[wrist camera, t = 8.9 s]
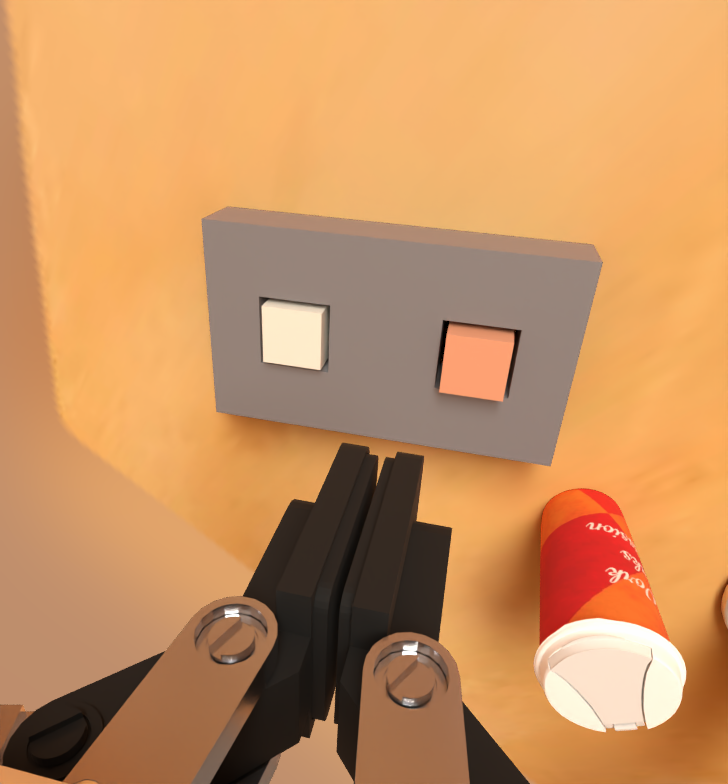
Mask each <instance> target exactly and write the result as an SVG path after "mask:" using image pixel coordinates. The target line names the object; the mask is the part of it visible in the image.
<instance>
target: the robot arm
mask: <svg viewBox="0 0 728 784" xmlns="http://www.w3.org/2000/svg"><path fill="white" fill-rule="evenodd" d="M369 453H370V451H369V447H366V446H359V445H353V444H347V443H342V444H341V446H340V448H339V450H338V453H337V455H336V457H335V459H334V462H333V464H332V466H331V468H330V470H329V473H328V475H327V477H326V479H325V482H324V484H323V486H322V488H321V491H320V493H319V495H318V497H317V499H316V502H315V503H313V502H307V501H302V500H296V499H294V500H292V501H291V503H290V504H289V506H288V508H287V510H286V512H285V514H284V516H283V518H282V520H281V522H280V524H279V526H278V528H277V530H276V531H275V533H274V535H273V537H272V539H271V541H270V543H269V545H268V547H267V549H266V551H265V553H264V555H263V557H262V559H261V561H260V563H259V565H258V567H257V569H256V571H255V573H254V575H253V577H252V579H251V581H250V583H249V585H248V587H247V589H246V591H245V593H244V595H243V596H237V597H226V598H223V599H219V600H216V601H213V602H212V603H210V604H208V605H206V606H205V607H203V608H201V609H200V610H199V611H198V612H197V613H196V614H195V615H194V616H193V617H192V618H191V619H190V621H189V622H188V623H187V625H186V626H185V627H184V628H183V630H182V631H181V632H180V633H179V635H178V636H177V637H176V639H175V640H174V641H173V642H172V644H171V645H170V646H169V647H168V649H167V650H166V651H164V652H162V653H160V654H157V655H155V656H153V657H151V658H148V659H146V660H144V661H142V662H139V663H137V664H135V665H133V666H130V667H128V668H126V669H124V670H121V671H119V672H117V673H115V674H112V675H110V676H108V677H105V678H103V679H101V680H99V681H96V682H94V683H92V684H90V685H87V686H85V687H83V688H80V689H78V690H76V691H74V692H71V693H69V694H67V695H64V696H62V697H60V698H58V699H55V700H53V701H51V702H49V703H48V704H46V705H44V706H43V707H41V708H39V709H37V710H36V711H30V712H29V711H27V712H26V711H25V709H24V706H23V705H0V784H269V783H270V781H271V778H272V777H273V774H274V772H275V770H276V768H277V765H278V762H279V759H280V756H281V753H282V752H284V751H285V750H287V749H289V748H290V747H292V746H294V745H295V744H297V743H299V741H300V738H301V736H303V737H306V738H310V735H311V732H312V728H313V725H314V721H315V719H318V720H323V721H325V720H326V718H327V715H328V712H329V709H330V705H331V701H332V698H333V694H334V691H335V687H336V692H335V713H334V723H335V724H338V734H337V753H338V755H339V757H340V759H341V760H342V762H343V764H344V765H345V767H346V769H347V770H348V772H349V774H350V775H351V777H352V779H353V781H354V784H530V783H529V782H528V781H527V780H526V779H525V777H524V776H523V775H522V774H521V772H520V771H519V770H518V769H517V768H516V766H515V765H514V764H513V763H512V761H511V760H510V759H509V758H508V757H507V755H506V754H505V753H504V752H503V750H502V749H501V748H500V747H499V746H498V744H497V743H496V742H495V741H494V739H493V738H492V737H491V736H490V735H489V733H488V732H487V731H486V730H485V728H484V727H483V726H482V725H481V724H480V722H479V721H478V720H477V719H476V718H475V716H474V715H473V714H472V713H471V711H470V710H469V709H468V708H467V707H466V705H465V704H464V703H463V702H462V693H461V682H460V675H459V671H458V667H457V664H456V662H455V660H454V659H453V657H452V656H451V654H450V653H449V651H448V650H447V649H445V648H444V647H443V646H442V645H441V644H440V643H439V642H438V641H439V633H440V624H441V616H442V608H443V599H444V591H445V583H446V574H447V566H448V557H449V549H450V541H451V532H452V528H450V527H444V526H439V525H433V524H428V523H422V522H417V521H416V519H417V511H418V503H419V495H420V487H421V479H422V471H423V463H424V456H420V455H414V454H408V453H402V452H397V454H396V457H395V458H388V457H386V458H385V461H384V464H383V467H382V470H381V473H380V476H379V480H378V483H377V470H378V456H376V455H370V454H369ZM376 483H377V486H376ZM721 611H722V615H723V619H724V622H725V624H726V627H727V629H728V585H727V586H726V588H725V591H724V594H723V597H722V603H721Z"/></svg>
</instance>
